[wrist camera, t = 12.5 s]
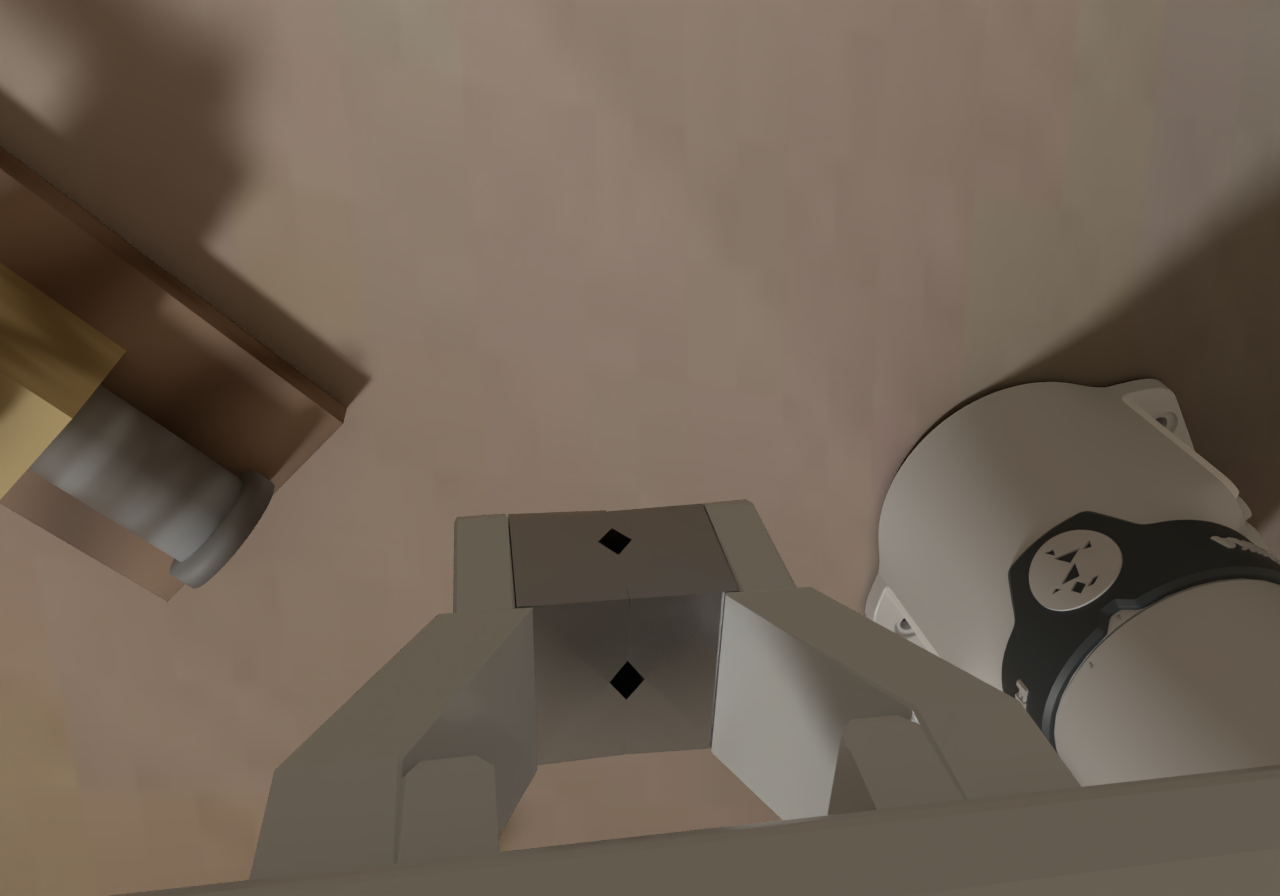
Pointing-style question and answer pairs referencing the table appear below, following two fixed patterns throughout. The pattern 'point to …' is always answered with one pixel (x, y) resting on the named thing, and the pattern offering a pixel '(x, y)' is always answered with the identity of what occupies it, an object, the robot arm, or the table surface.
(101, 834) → the table surface
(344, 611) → the table surface
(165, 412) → the valve mount
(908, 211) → the table surface
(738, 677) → the robot arm
